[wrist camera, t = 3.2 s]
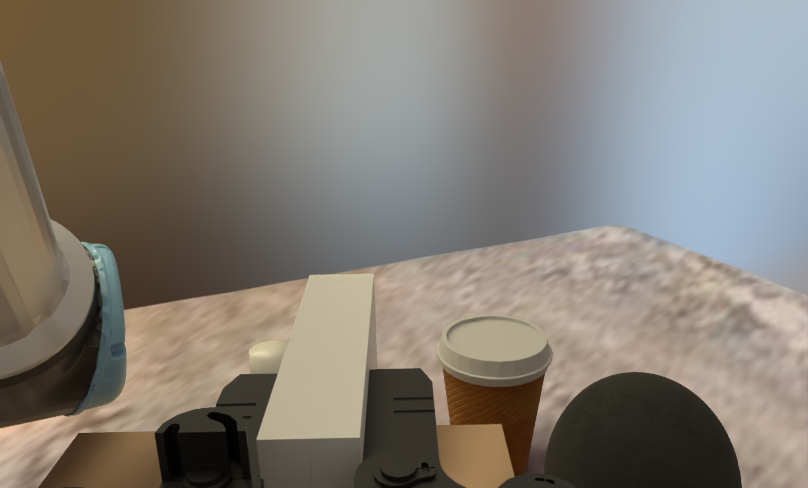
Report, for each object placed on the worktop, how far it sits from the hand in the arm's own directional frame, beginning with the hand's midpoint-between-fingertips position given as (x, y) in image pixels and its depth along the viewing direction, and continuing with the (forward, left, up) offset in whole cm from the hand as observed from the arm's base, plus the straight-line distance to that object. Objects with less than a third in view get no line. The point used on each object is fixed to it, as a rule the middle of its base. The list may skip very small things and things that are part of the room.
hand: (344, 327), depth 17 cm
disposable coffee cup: (+9, +37, -31) cm, 49 cm away
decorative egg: (+17, +24, -31) cm, 42 cm away
